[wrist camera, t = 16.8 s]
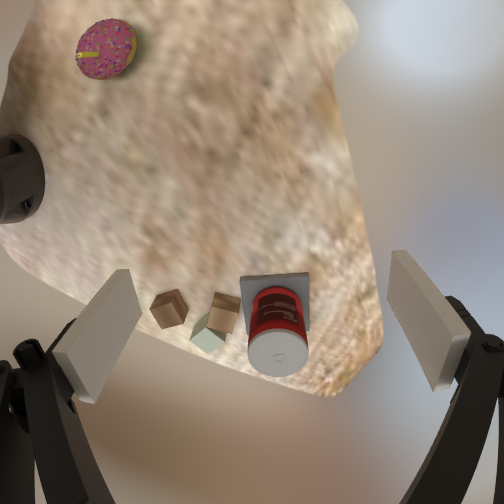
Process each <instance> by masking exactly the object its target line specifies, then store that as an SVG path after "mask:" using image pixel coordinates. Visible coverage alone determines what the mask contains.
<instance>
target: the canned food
mask: <svg viewBox="0 0 504 504" xmlns="http://www.w3.org/2000/svg"><path fill="white" fill-rule="evenodd" d="M248 359H249V362H250V364H251V365H252V366H253V367H254V368H255V369H256V370H257V371H259V372H260V373H262V374H265V375H268V376H272V377H284V376H289V375H292V374H294V373H296V372H298V371H299V370H300V369H302V368H303V366H304V365H305V364H306V362H307V359H308V342H307V335H306V328H305V321H304V315H303V308H302V304H301V302H300V300H299V298H298V297H297V296H296V295H295V293H293V292H292V291H291V290H289V289H287V288H283V287H270V288H267V289H264V290H263V291H261V292H260V293H259V294H258V295H257V296H256V298H255V299H254V301H253V303H252V308H251V319H250V329H249V339H248Z"/></svg>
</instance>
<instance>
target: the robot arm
mask: <svg viewBox="0 0 504 504" xmlns="http://www.w3.org/2000/svg"><path fill="white" fill-rule="evenodd" d="M44 183H45V181H44V170H43V165H42V162H41V159H40V156H39V154H38V152H37V150H36V149H35V147H34V146H33V144H32V143H31V142H30V141H29V140H28V139H26V138H25V137H23V136H20V135H8V136H4V137H1V138H0V224H8V223H17V222H20V221H23V220H25V219H26V218H28V217H30V216H31V215H32V214H34V213H35V211H36V210H37V209H38V207H39V205H40V203H41V201H42V197H43V193H44ZM387 300H388V302H389V304H390V306H391V308H392V310H393V312H394V313H395V315H396V317H397V319H398V321H399V323H400V325H401V327H402V329H403V331H404V332H405V335H406V337H407V339H408V341H409V343H410V345H411V347H412V349H413V351H414V352H415V355H416V357H417V359H418V361H419V363H420V365H421V367H422V369H423V371H424V374H425V376H426V378H427V380H428V382H429V384H430V387H431V389H432V391H433V392H436V391H440V390H444V389H448V388H450V386H451V384H452V382H453V379H454V377H455V379H456V381H457V383H458V386H457V389H456V391H455V393H454V395H453V397H452V399H451V401H450V403H451V404H450V406H449V409H448V411H447V413H446V416H445V418H444V420H443V423H442V425H441V427H440V430H439V432H438V434H437V436H436V438H435V440H434V442H433V445H432V446H431V448H430V451H429V453H428V454H427V456H426V458H425V460H424V462H423V464H422V466H421V468H420V469H419V471H418V473H417V475H416V477H415V478H414V480H413V482H412V484H411V485H410V487H409V489H408V490H407V492H406V494H405V495H404V497H403V499H402V500H401V502H400V503H399V504H461V502H462V500H463V498H464V496H465V494H466V492H467V489H468V487H469V484H470V482H471V480H472V477H473V475H474V472H475V469H476V467H477V464H478V461H479V458H480V456H481V453H482V450H483V447H484V444H485V441H486V438H487V434H488V431H489V428H490V424H491V420H492V417H493V413H494V409H495V405H496V401H497V398H498V403H499V445H498V464H497V475H496V485H495V494H494V501H493V504H504V341H503V340H501V339H500V338H499V337H497V336H495V335H492V334H485V333H484V331H483V330H482V329H481V327H480V326H479V325H478V323H477V322H476V321H475V319H474V318H473V317H472V316H471V314H470V313H469V312H468V310H466V308H465V307H464V305H463V304H462V303H461V302H460V301H459V300H457V299H456V298H454V297H452V296H445V297H444V295H443V294H442V293H441V292H440V290H439V289H438V288H437V287H436V285H435V284H434V283H433V282H432V280H431V279H430V278H429V277H428V276H427V275H426V273H425V272H424V271H423V270H422V268H421V267H420V266H419V265H418V264H417V263H416V261H415V260H414V259H413V258H412V256H411V255H410V254H409V253H408V252H407V251H406V250H398V251H392V257H391V267H390V276H389V285H388V294H387ZM141 315H142V311H141V308H140V305H139V301H138V298H137V295H136V292H135V288H134V285H133V281H132V278H131V274H130V271H129V269H121V270H116V271H115V272H114V273H113V274H112V276H111V277H110V278H109V279H108V280H107V282H106V283H105V284H104V285H103V286H102V288H101V289H100V290H99V291H98V292H97V294H96V295H95V296H94V297H93V299H92V300H91V301H90V302H89V304H88V305H87V306H86V307H85V309H84V310H83V311H82V313H81V314H80V315H79V316H78V317H77V318H75V319H73V320H72V321H71V322H70V323H68V324H67V325H66V326H65V328H64V329H63V330H62V333H60V334H59V335H58V338H56V339H55V341H54V342H53V343H52V345H51V346H50V347H49V349H48V350H47V351H46V353H44V351H43V349H42V347H41V345H40V343H39V341H38V340H36V339H28V340H25V341H23V342H21V343H20V344H19V345H18V346H16V348H15V349H14V351H13V355H14V357H15V359H16V360H17V362H18V364H19V366H20V367H21V368H17V369H13V368H12V367H11V365H10V364H9V362H8V361H6V360H1V361H0V504H35V486H34V485H35V484H34V482H35V480H34V469H35V461H36V465H37V470H38V474H39V477H40V481H41V485H42V488H43V492H44V495H45V499H46V502H47V504H116V503H115V501H114V499H113V498H112V495H111V493H110V492H109V489H108V487H107V485H106V483H105V481H104V479H103V476H102V474H101V472H100V470H99V468H98V465H97V463H96V461H95V458H94V456H93V453H92V451H91V449H90V446H89V443H88V441H87V438H86V435H85V433H84V430H83V427H82V425H81V421H80V419H79V416H78V413H77V410H76V407H75V403H74V402H73V400H72V399H71V397H72V395H73V393H74V392H75V393H76V395H77V396H78V398H79V399H80V401H83V402H89V403H94V404H95V402H96V400H97V398H98V396H99V394H100V392H101V390H102V388H103V386H104V384H105V382H106V380H107V378H108V377H109V375H110V373H111V371H112V369H113V367H114V365H115V363H116V361H117V359H118V357H119V355H120V353H121V351H122V350H123V348H124V346H125V344H126V342H127V340H128V338H129V337H130V335H131V333H132V331H133V329H134V328H135V326H136V324H137V322H138V320H139V319H140V317H141ZM9 408H10V409H11V411H10V410H9Z"/></svg>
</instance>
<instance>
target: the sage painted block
mask: <svg viewBox="0 0 504 504" xmlns="http://www.w3.org/2000/svg"><path fill="white" fill-rule="evenodd" d="M209 315H210V313H208V314H207V315H206V316H205V317H204V318H202V319H201V320H200V321H199V322H198V323H197V324H196V325H194V328H193V331H192V334H191V337H190V340H189V341H191V342H192V343H193V344H195V345H196V346H197V347H199V348H200V349H202V350H203V351H204V352H206V353H207V354H208V355H209V354H210V353H212V352H213V351H214V350H216V349H217V348H218V347H219V346H221V345H222V344H223V343H225V339H226V334H227V332H223V331H219V330H215V329H212V328H208V327H206V326H207V323H208V319H209Z"/></svg>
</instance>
